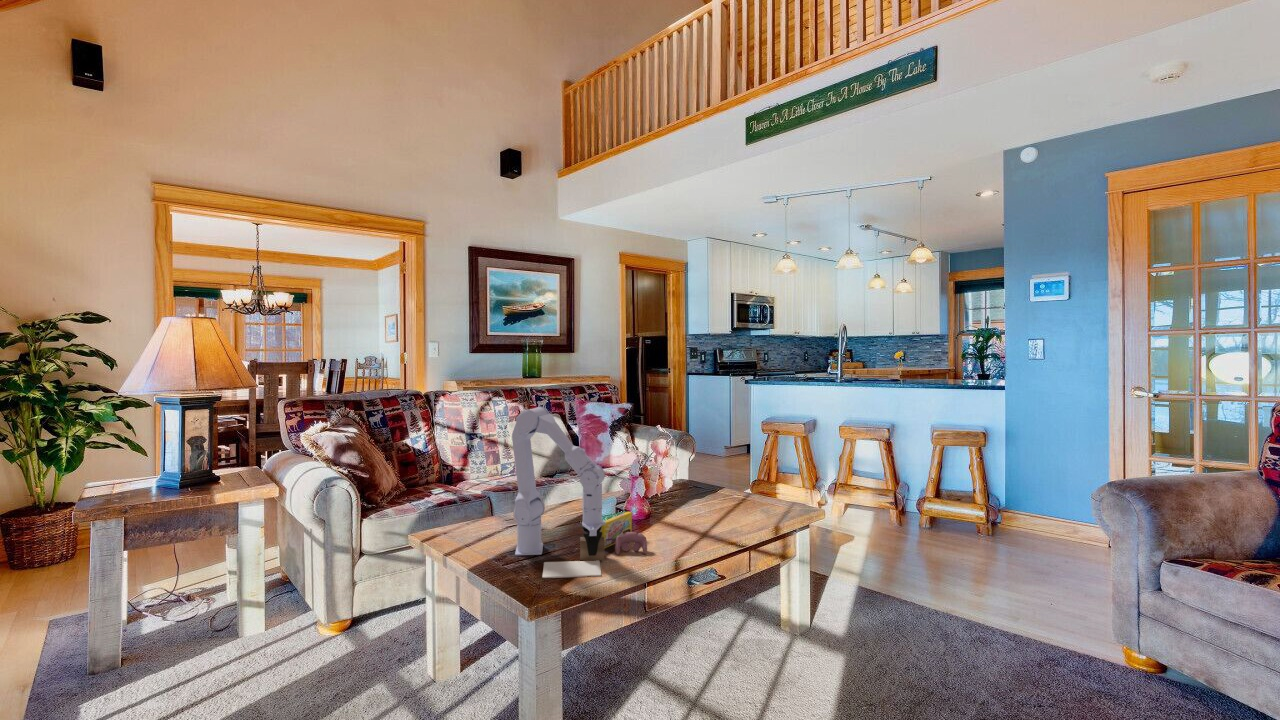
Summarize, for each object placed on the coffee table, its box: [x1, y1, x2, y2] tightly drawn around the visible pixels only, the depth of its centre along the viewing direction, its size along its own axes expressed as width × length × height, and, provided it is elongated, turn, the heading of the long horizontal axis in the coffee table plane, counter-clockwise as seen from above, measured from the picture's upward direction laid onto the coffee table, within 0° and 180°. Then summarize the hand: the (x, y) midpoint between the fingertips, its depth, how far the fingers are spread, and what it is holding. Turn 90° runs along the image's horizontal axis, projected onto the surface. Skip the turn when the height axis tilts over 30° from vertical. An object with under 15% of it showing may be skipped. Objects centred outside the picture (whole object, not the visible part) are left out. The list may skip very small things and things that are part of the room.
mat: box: [541, 560, 602, 579], centre depth 173 cm, size 11×16×1 cm
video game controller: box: [614, 531, 648, 556], centre depth 188 cm, size 10×5×7 cm, turn 92°
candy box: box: [600, 511, 633, 550], centre depth 197 cm, size 16×2×8 cm, turn 147°
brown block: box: [579, 536, 605, 561], centre depth 182 cm, size 4×7×6 cm, turn 96°
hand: (592, 552), depth 182 cm, fingers open, 4 cm apart
